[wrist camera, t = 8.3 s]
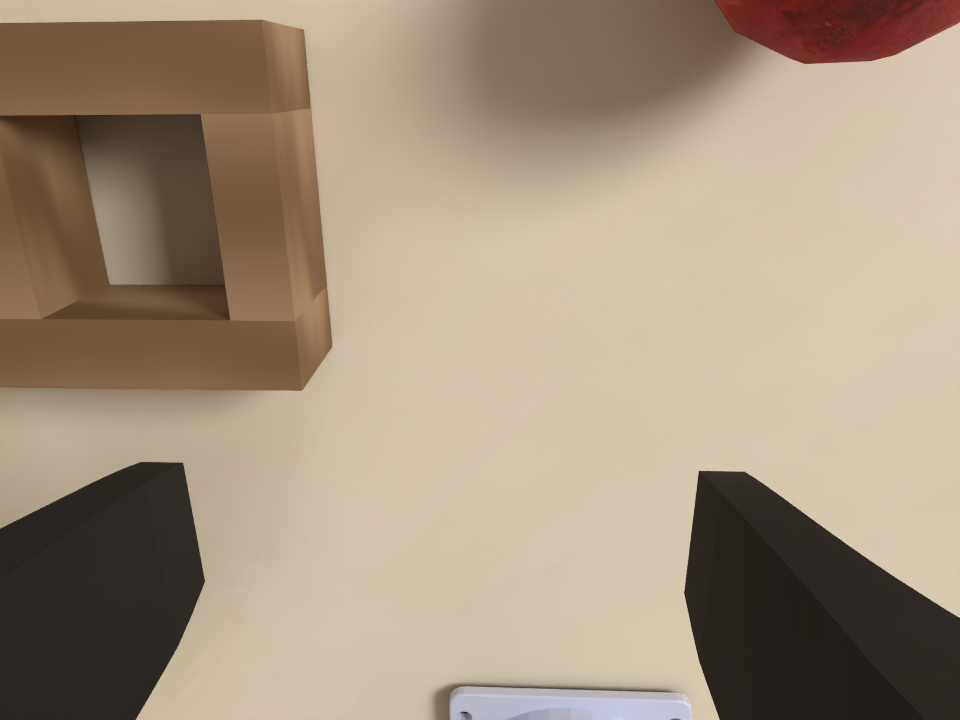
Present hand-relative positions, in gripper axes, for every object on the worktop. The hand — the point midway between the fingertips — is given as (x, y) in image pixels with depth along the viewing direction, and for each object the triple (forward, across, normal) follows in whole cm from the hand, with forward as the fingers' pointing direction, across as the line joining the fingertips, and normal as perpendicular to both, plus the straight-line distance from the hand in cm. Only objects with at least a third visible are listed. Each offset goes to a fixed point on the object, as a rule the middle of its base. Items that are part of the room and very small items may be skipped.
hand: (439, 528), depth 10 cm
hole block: (+10, +12, -3) cm, 15 cm away
